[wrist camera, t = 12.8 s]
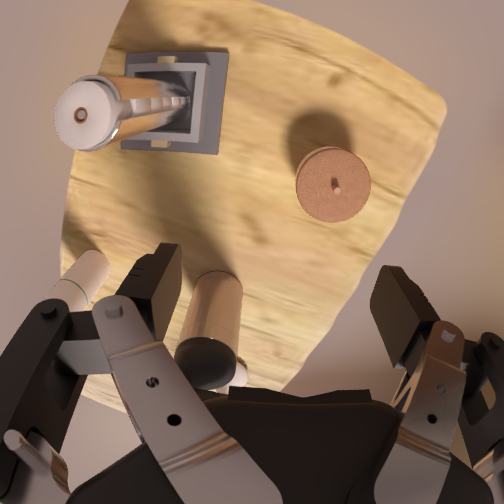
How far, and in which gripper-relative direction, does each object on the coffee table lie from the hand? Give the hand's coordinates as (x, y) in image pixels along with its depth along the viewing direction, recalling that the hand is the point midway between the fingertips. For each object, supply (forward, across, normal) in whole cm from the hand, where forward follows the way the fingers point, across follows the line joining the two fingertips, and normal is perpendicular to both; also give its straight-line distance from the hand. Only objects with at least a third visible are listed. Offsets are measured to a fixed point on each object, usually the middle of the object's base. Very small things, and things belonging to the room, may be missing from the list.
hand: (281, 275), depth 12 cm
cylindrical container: (+38, +32, +26) cm, 56 cm away
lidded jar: (+38, -10, +4) cm, 39 cm away
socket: (+38, +15, -6) cm, 41 cm away
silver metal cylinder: (+36, +15, -6) cm, 40 cm away
